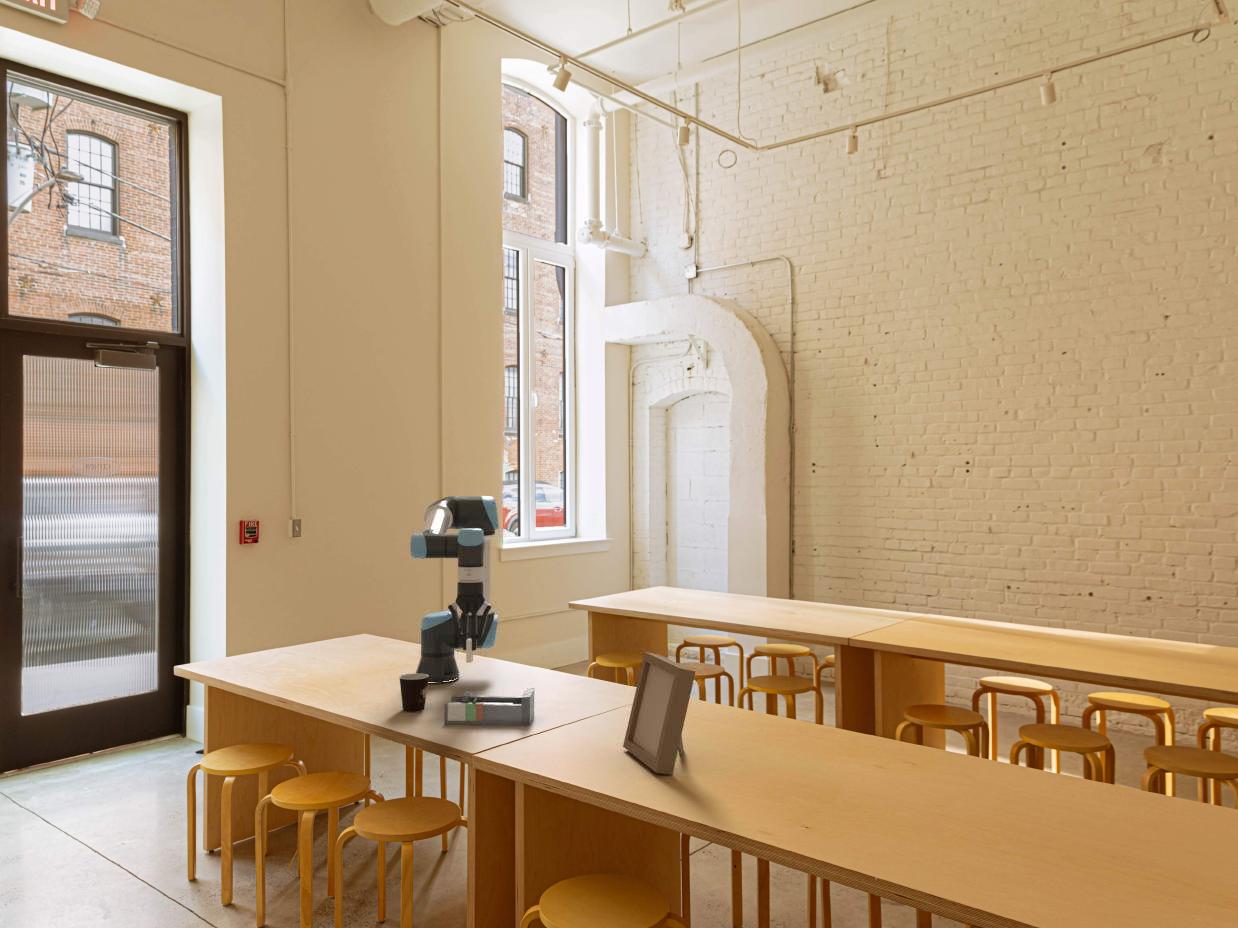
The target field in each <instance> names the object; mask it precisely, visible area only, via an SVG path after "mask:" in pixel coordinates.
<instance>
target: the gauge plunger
mask: <svg viewBox="0 0 1238 928" xmlns="http://www.w3.org/2000/svg"><path fill="white" fill-rule="evenodd" d="M461 696H462V703H472V704H475V703H478V698H475V699H474V700H473V696H474V691H473V690H465V691H464V693H463V694H462V695H461ZM484 704H513V703H484Z"/></svg>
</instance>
